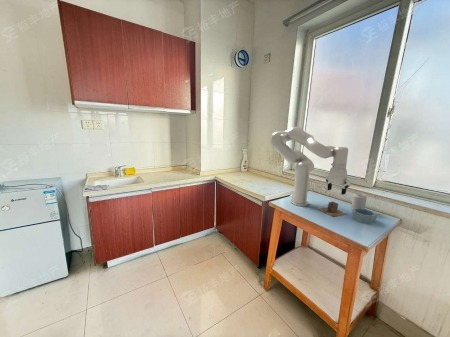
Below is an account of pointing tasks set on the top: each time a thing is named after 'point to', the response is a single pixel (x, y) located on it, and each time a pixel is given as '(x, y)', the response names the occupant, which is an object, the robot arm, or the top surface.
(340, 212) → the lid
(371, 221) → the bowl
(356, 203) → the can
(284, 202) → the top surface
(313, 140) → the robot arm
